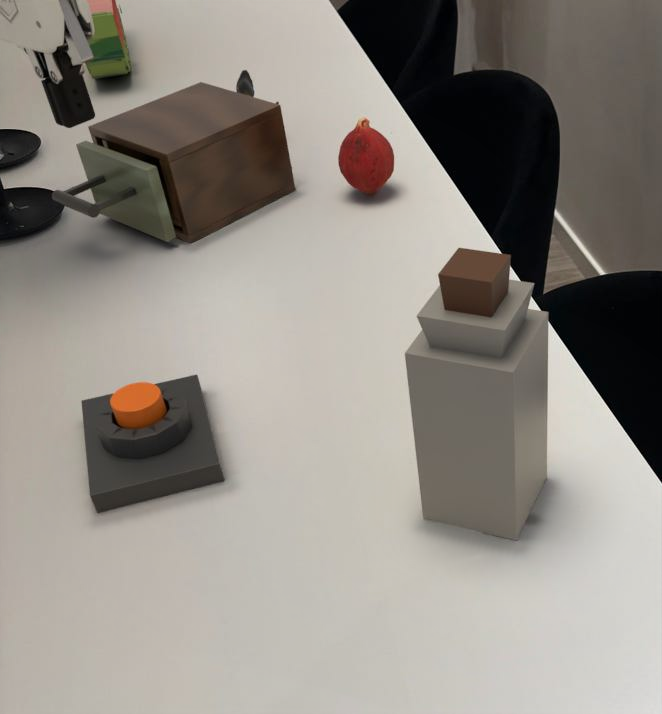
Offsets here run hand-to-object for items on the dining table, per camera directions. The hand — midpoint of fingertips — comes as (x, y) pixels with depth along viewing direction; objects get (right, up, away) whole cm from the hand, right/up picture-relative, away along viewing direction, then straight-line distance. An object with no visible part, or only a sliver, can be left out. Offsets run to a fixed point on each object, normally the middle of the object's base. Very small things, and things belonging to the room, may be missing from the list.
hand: (76, 121), depth 89 cm
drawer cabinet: (+8, -2, +15) cm, 17 cm away
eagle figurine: (+9, +10, +28) cm, 31 cm away
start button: (+12, -29, -18) cm, 36 cm away
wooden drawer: (+4, -5, +11) cm, 13 cm away
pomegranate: (+25, -2, +15) cm, 29 cm away
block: (+12, -31, -16) cm, 37 cm away
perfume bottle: (+38, -35, -21) cm, 56 cm away
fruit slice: (-15, +28, +49) cm, 58 cm away
